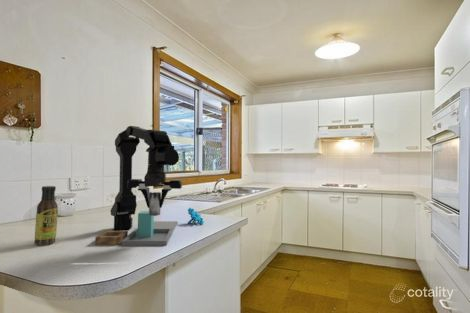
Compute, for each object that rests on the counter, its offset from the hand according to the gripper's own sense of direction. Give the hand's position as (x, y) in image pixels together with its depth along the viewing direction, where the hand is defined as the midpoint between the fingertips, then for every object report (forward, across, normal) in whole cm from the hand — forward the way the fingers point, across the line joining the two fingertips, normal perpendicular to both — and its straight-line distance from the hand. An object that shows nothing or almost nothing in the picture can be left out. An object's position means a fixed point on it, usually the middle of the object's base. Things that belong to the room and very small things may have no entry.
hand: (154, 207), depth 101 cm
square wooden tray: (+13, -15, +1) cm, 20 cm away
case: (+13, -2, +13) cm, 19 cm away
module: (+12, -5, +9) cm, 16 cm away
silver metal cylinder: (+2, 0, 0) cm, 2 cm away
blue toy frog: (+13, +14, +31) cm, 36 cm away
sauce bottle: (+13, -37, 0) cm, 39 cm away
